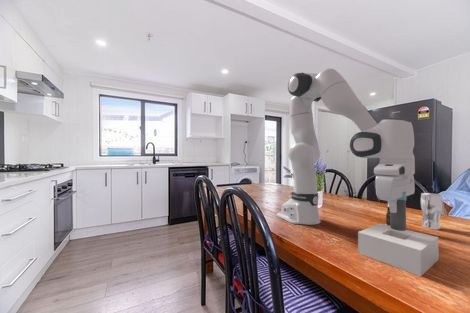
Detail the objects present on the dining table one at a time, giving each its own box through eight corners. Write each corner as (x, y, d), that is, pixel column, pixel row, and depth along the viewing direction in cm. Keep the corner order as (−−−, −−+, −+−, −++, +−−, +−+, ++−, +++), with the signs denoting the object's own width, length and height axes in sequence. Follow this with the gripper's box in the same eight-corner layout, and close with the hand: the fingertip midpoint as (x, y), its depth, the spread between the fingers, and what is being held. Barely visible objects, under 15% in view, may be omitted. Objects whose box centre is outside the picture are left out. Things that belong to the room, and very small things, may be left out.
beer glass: (420, 227, 91) (420, 194, 91) (420, 223, 96) (420, 192, 96) (442, 231, 86) (442, 196, 86) (441, 227, 92) (441, 194, 91)
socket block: (358, 252, 68) (358, 232, 68) (379, 241, 77) (379, 223, 77) (420, 276, 55) (420, 250, 55) (438, 259, 63) (438, 237, 63)
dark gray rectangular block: (387, 228, 66) (387, 191, 66) (393, 225, 68) (392, 189, 68) (403, 231, 62) (403, 192, 63) (408, 229, 65) (408, 191, 65)
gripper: (397, 166, 74) (398, 204, 74) (370, 169, 63) (371, 213, 63) (420, 167, 69) (421, 208, 69) (395, 170, 57) (396, 219, 57)
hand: (397, 211), depth 66 cm, fingers closed on dark gray rectangular block, 4 cm apart
